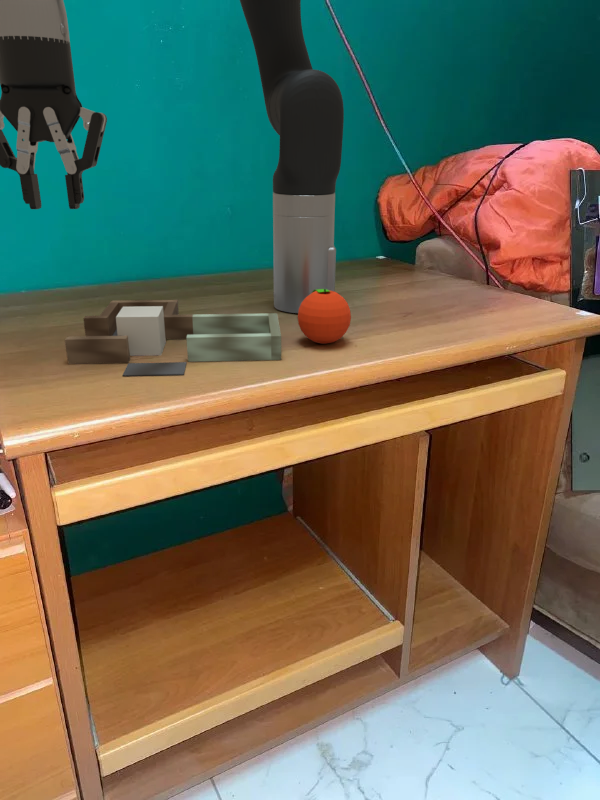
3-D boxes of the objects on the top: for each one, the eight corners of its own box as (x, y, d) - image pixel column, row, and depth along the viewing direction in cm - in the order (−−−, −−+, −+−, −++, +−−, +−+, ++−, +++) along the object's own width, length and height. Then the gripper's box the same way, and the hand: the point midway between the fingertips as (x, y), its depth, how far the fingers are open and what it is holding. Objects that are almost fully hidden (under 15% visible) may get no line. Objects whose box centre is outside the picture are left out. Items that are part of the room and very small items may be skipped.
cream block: (165, 343, 82) (162, 306, 80) (161, 356, 78) (158, 316, 76) (126, 344, 82) (123, 306, 80) (119, 356, 77) (115, 317, 75)
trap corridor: (274, 318, 93) (274, 298, 92) (283, 373, 72) (283, 348, 71) (101, 321, 91) (98, 300, 90) (57, 377, 70) (53, 352, 69)
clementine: (286, 335, 86) (286, 283, 83) (333, 330, 88) (334, 280, 85) (309, 353, 79) (310, 297, 76) (359, 347, 81) (361, 292, 78)
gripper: (108, 43, 70) (123, 205, 77) (-25, 41, 69) (3, 205, 75) (93, 33, 63) (111, 212, 70) (-55, 30, 62) (-22, 212, 69)
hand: (55, 207), depth 72 cm, fingers open, 3 cm apart
